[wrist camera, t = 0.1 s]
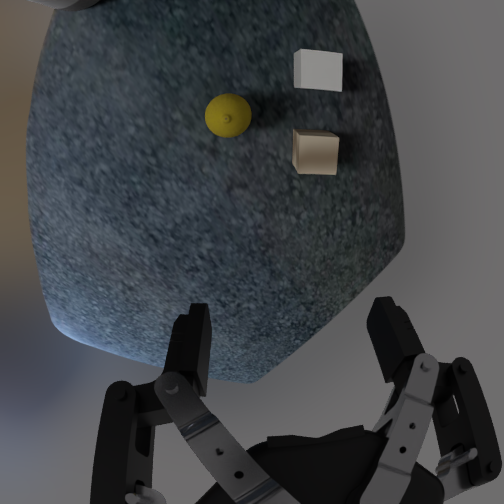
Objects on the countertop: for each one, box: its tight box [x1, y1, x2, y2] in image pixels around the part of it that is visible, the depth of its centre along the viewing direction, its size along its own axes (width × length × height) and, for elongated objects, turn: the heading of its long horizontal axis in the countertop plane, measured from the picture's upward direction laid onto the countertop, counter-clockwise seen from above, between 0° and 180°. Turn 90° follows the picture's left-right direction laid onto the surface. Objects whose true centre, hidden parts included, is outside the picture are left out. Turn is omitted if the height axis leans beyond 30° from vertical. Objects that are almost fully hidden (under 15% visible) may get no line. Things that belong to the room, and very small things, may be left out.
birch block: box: [292, 129, 339, 175], centre depth 34 cm, size 5×5×5 cm
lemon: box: [205, 94, 252, 138], centre depth 30 cm, size 6×6×8 cm
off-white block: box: [294, 49, 342, 92], centre depth 28 cm, size 5×5×5 cm
